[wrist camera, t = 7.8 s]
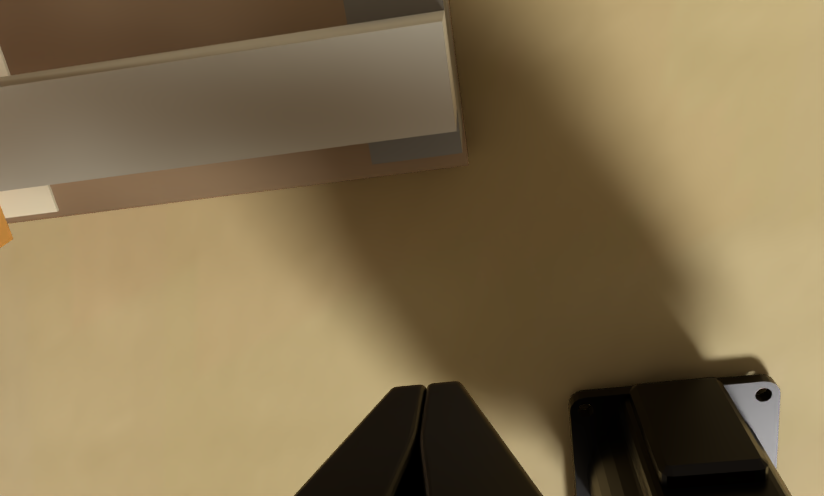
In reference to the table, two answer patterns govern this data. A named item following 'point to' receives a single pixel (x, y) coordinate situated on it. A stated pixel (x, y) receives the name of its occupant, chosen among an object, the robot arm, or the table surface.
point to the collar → (4, 230)
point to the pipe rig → (218, 98)
